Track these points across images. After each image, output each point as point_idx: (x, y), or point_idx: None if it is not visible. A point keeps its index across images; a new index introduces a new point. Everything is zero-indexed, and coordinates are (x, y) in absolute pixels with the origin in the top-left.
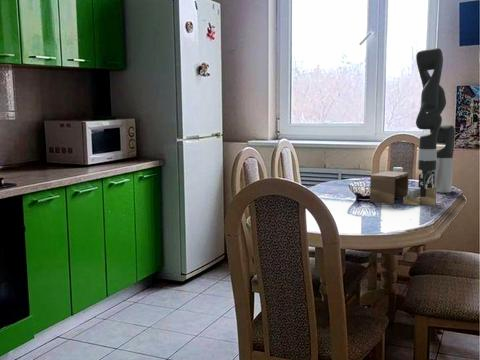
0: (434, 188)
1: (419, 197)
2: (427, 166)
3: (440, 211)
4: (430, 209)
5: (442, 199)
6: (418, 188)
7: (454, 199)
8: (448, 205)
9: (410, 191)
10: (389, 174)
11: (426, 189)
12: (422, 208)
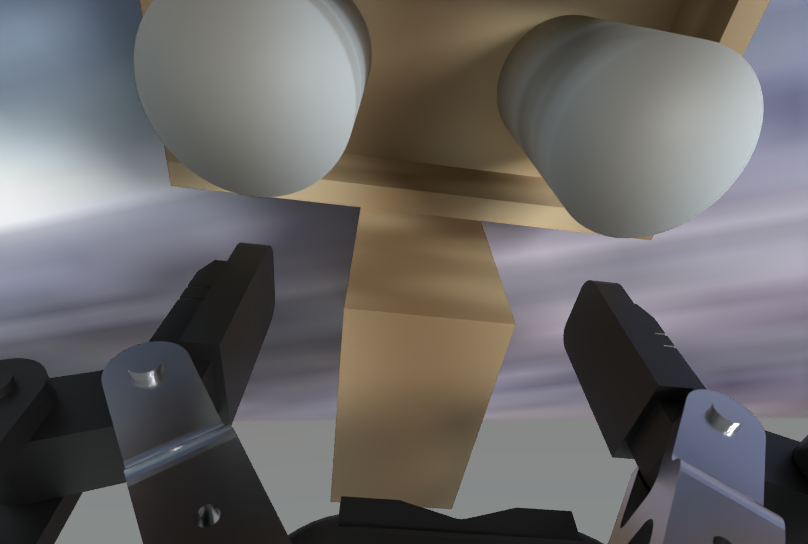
0: (429, 491)
1: (321, 199)
2: None
3: None
4: (80, 328)
5: (795, 330)
6: (678, 170)
7: (797, 411)
8: None
9: (145, 53)
10: None
11: (338, 394)
12: (62, 252)
